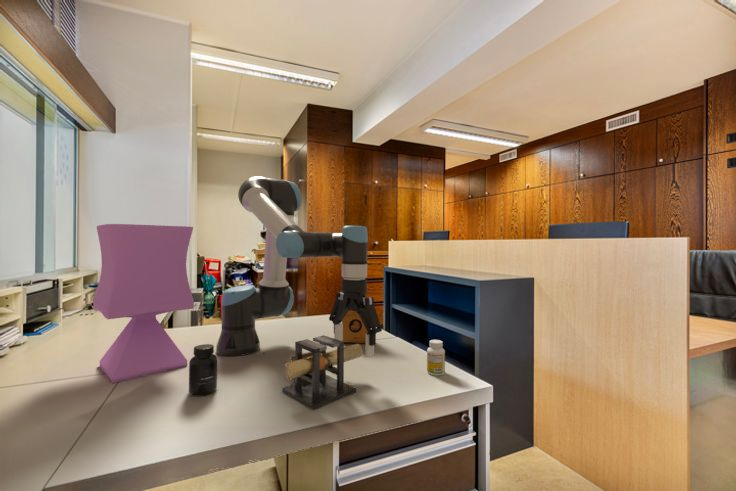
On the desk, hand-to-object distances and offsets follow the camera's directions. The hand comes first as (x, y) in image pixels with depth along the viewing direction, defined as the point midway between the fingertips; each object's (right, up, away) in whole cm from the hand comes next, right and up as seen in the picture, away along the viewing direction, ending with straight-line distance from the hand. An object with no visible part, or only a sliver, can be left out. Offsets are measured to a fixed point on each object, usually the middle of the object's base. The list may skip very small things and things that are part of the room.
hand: (353, 350), depth 99 cm
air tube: (-7, -1, -6) cm, 10 cm away
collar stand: (-9, -8, -9) cm, 15 cm away
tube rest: (-14, -8, +2) cm, 16 cm away
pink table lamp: (-68, -8, +10) cm, 69 cm away
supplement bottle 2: (+25, -9, +5) cm, 27 cm away
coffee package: (-1, -8, +38) cm, 39 cm away
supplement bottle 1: (-40, -8, -9) cm, 42 cm away
